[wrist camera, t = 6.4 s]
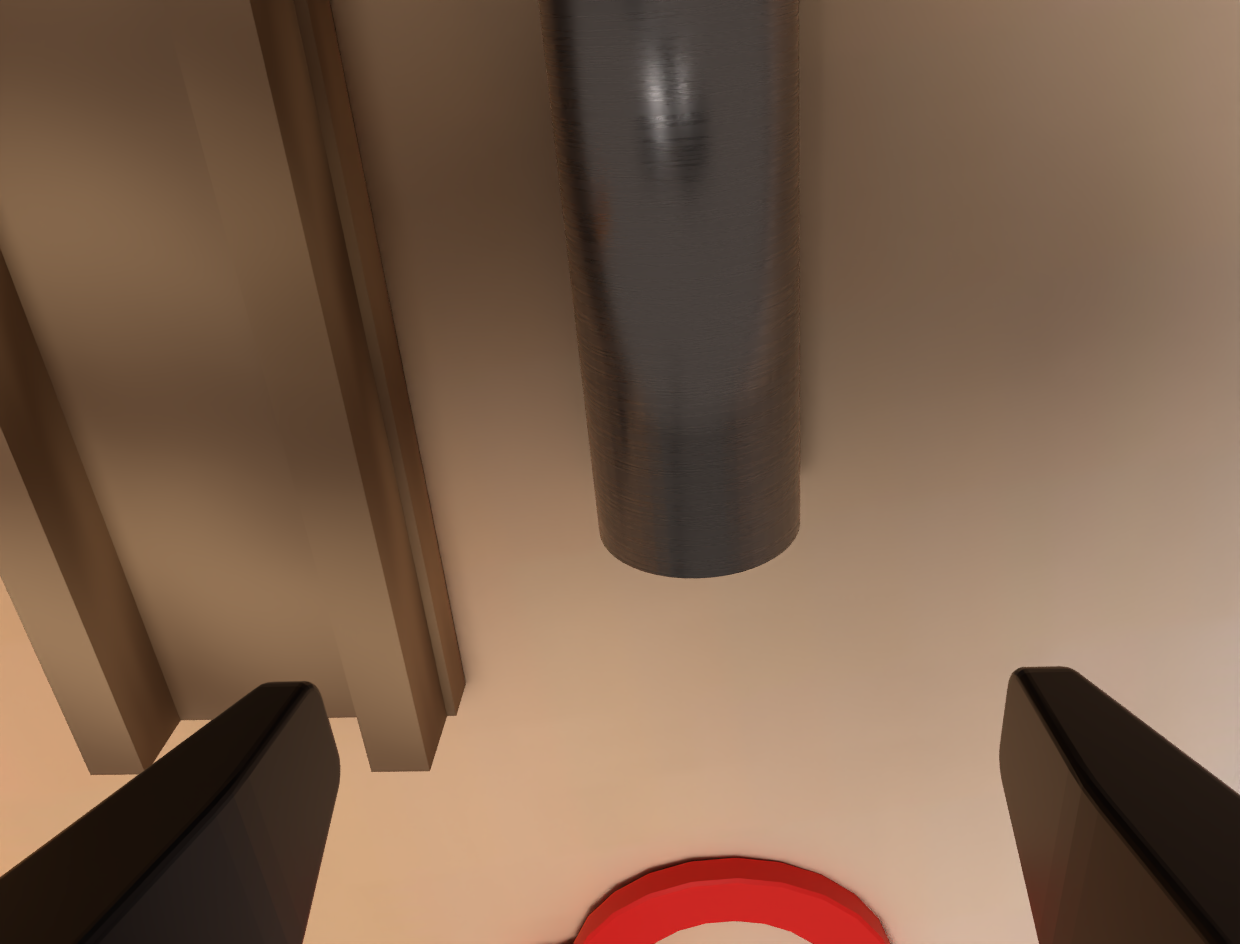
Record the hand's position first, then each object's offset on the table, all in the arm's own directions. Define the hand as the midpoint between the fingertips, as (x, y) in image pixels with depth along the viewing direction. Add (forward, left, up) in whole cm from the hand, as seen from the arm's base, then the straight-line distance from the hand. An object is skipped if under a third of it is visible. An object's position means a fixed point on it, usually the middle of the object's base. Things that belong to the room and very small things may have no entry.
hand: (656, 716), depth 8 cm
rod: (-3, 0, -11) cm, 12 cm away
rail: (+1, -9, -11) cm, 14 cm away
